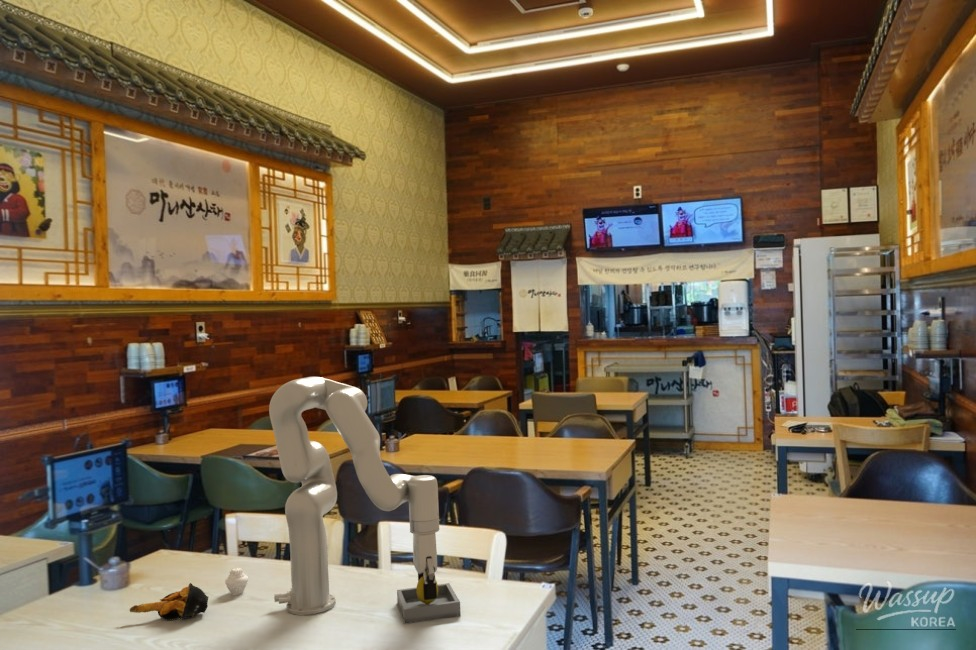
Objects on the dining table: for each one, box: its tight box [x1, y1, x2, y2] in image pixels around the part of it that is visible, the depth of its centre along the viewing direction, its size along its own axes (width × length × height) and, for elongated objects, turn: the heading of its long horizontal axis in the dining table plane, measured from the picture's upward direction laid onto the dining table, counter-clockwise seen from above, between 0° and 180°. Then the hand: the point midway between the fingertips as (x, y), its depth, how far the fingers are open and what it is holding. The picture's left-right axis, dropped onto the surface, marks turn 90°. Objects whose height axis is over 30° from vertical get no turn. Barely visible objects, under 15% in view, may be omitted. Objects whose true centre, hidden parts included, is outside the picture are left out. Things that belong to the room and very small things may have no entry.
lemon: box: [416, 574, 439, 605], centre depth 188 cm, size 6×6×8 cm
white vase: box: [224, 567, 249, 595], centre depth 206 cm, size 6×6×7 cm
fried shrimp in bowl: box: [129, 582, 209, 621], centre depth 189 cm, size 9×11×18 cm
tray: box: [396, 582, 462, 625], centre depth 188 cm, size 14×14×4 cm
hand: (427, 592), depth 188 cm, fingers open, 8 cm apart
